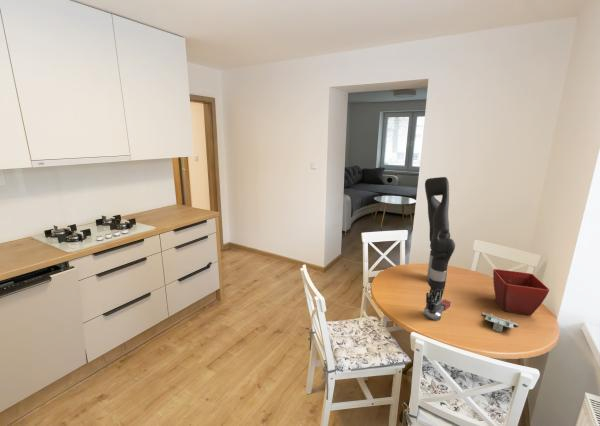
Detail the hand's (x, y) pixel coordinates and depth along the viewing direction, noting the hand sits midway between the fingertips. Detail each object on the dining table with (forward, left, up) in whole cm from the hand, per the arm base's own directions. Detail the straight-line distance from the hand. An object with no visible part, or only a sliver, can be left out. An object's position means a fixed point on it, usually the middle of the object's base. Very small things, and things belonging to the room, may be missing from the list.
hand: (433, 308), depth 149 cm
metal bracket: (-19, +24, -5) cm, 31 cm away
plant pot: (-43, +23, -5) cm, 49 cm away
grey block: (0, 0, 0) cm, 0 cm away
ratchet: (-5, 0, -5) cm, 7 cm away
